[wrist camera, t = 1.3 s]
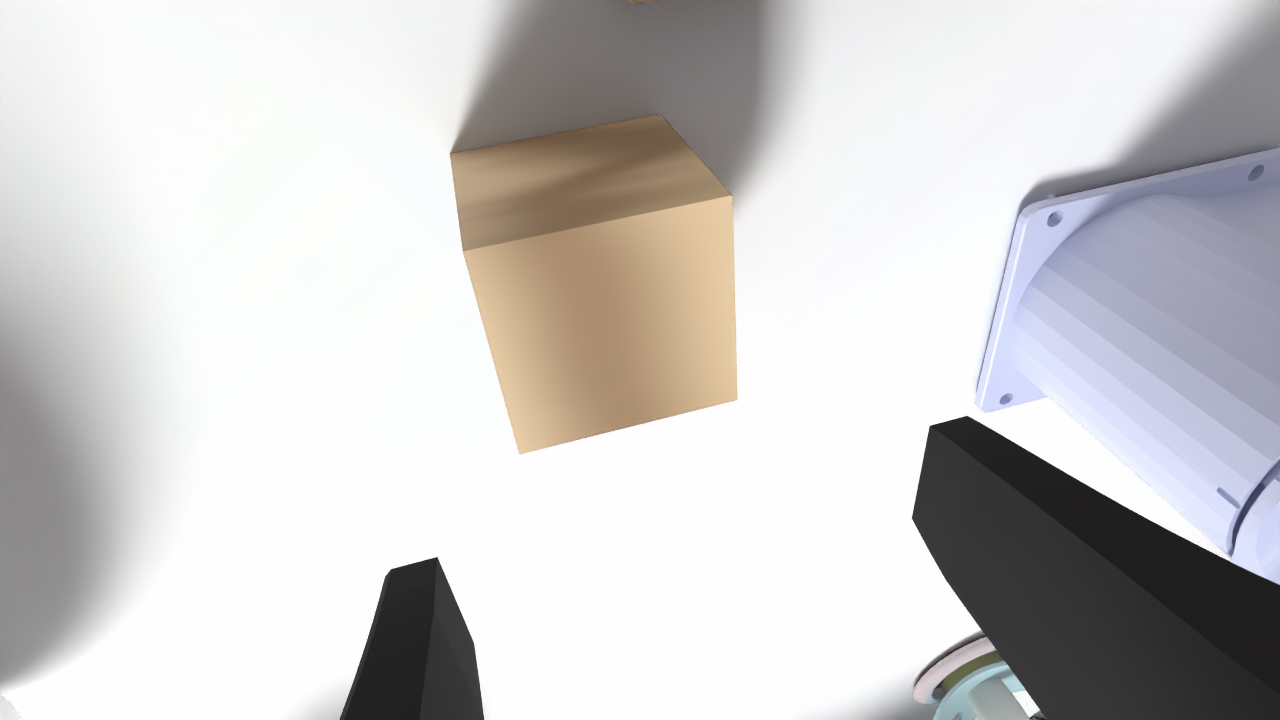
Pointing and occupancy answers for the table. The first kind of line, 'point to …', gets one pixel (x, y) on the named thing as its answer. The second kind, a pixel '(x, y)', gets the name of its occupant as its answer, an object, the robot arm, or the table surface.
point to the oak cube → (600, 277)
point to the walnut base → (638, 1)
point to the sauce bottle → (8, 710)
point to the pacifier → (972, 685)
